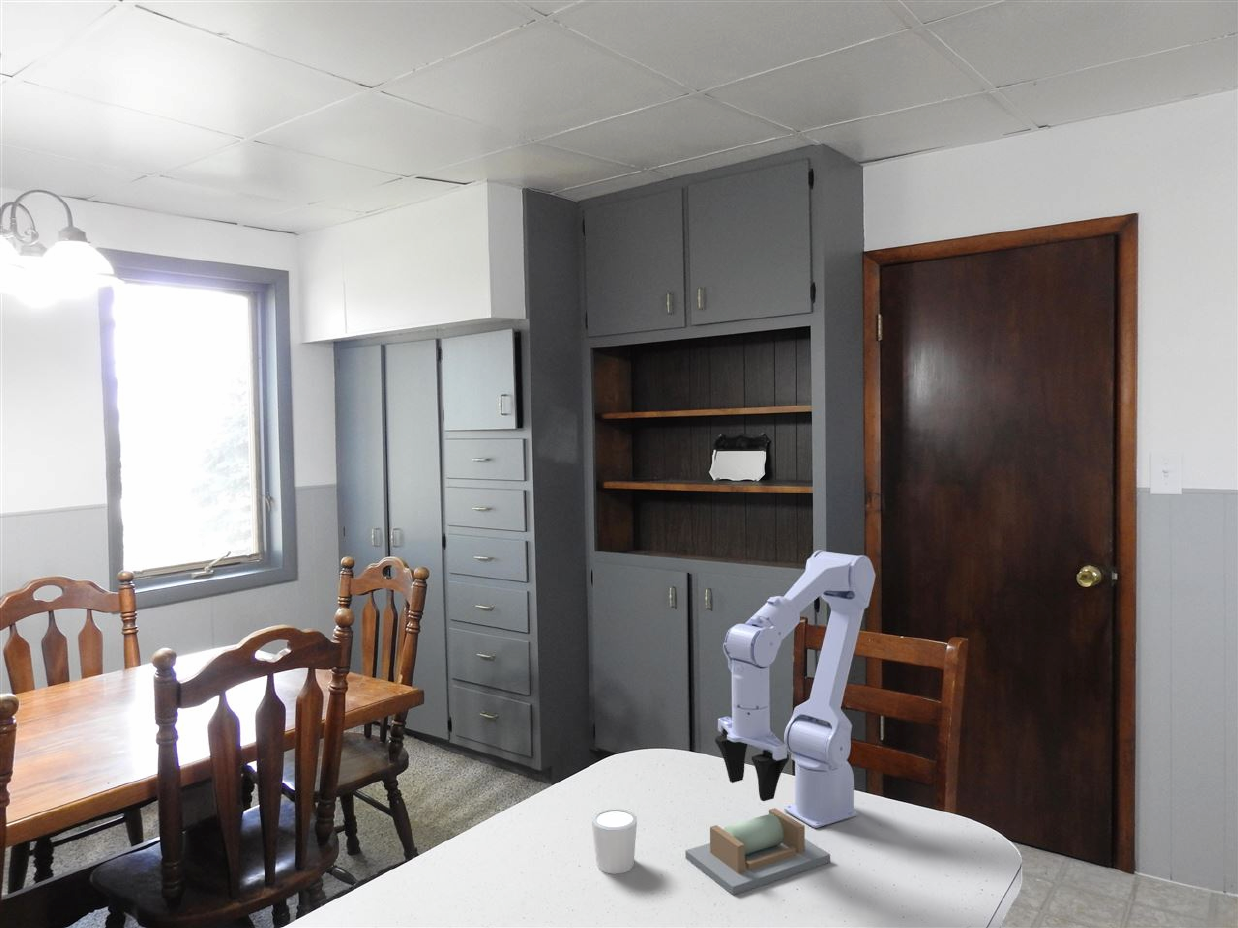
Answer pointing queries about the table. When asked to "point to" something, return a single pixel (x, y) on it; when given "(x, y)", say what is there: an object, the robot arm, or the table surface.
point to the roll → (757, 832)
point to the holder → (756, 857)
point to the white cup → (614, 840)
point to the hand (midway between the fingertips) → (751, 789)
